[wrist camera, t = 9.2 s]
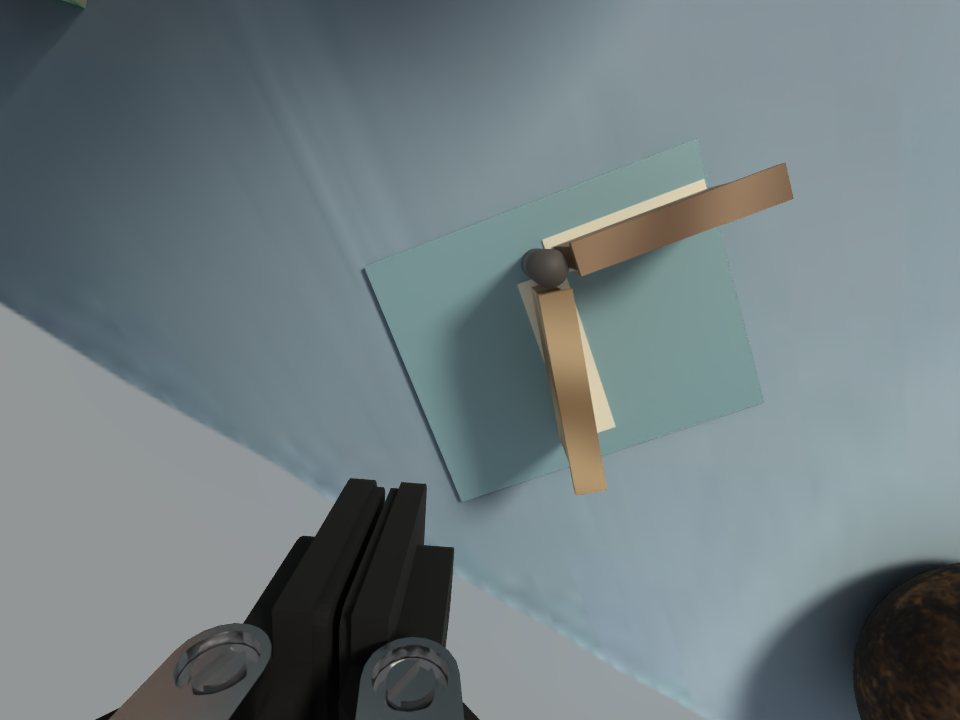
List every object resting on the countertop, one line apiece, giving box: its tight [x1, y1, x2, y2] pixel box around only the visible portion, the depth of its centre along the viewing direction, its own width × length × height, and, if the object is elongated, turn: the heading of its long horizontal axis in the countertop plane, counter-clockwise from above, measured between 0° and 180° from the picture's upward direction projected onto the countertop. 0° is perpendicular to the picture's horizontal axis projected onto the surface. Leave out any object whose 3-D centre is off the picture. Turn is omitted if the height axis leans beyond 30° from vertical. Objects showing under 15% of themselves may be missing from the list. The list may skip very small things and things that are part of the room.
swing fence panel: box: [531, 285, 607, 495], centre depth 28 cm, size 10×2×7 cm, turn 12°
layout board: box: [364, 138, 764, 502], centre depth 31 cm, size 21×17×1 cm
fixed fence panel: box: [521, 163, 793, 288], centre depth 26 cm, size 12×2×8 cm, turn 110°
